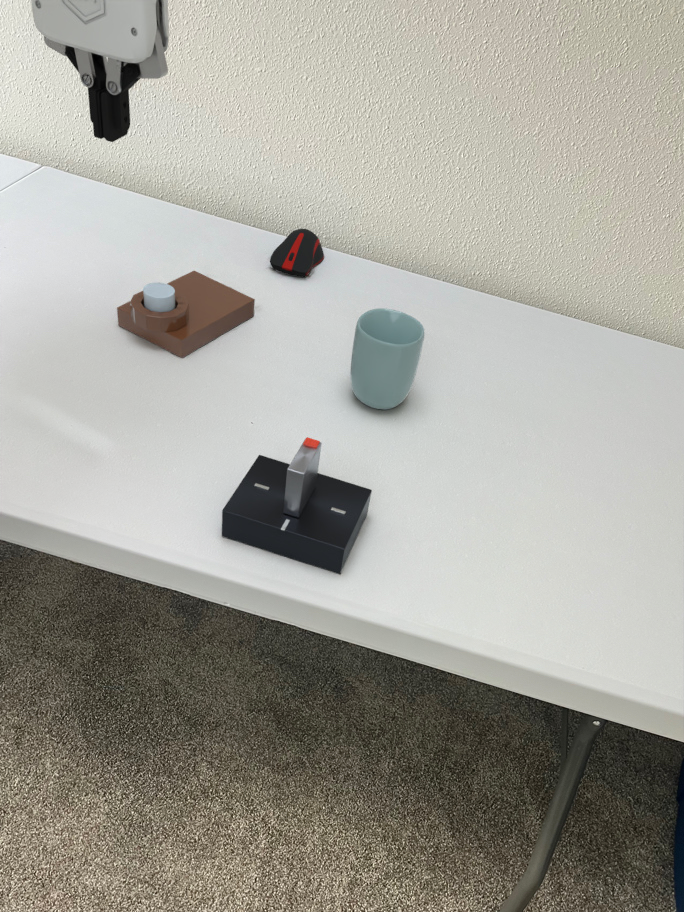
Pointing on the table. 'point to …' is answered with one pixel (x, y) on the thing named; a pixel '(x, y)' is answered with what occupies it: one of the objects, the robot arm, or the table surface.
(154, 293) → the pale blue short cylinder
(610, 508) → the table surface
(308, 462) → the tap knob
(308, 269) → the computer mouse
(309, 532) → the plate
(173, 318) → the brown mounting plate
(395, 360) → the cup
